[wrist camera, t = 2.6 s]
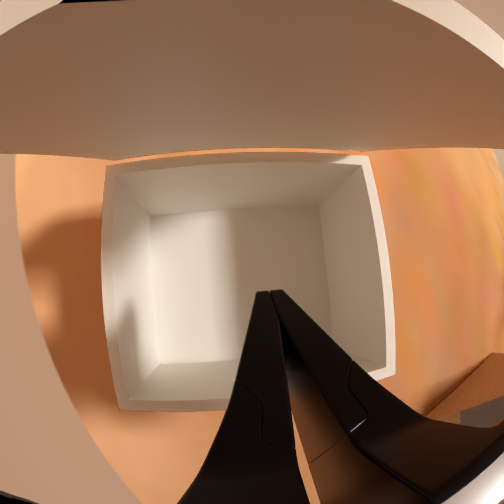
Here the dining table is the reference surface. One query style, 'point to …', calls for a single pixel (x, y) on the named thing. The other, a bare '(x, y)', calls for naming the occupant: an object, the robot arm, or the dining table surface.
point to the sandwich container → (476, 397)
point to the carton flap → (246, 76)
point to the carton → (236, 267)
